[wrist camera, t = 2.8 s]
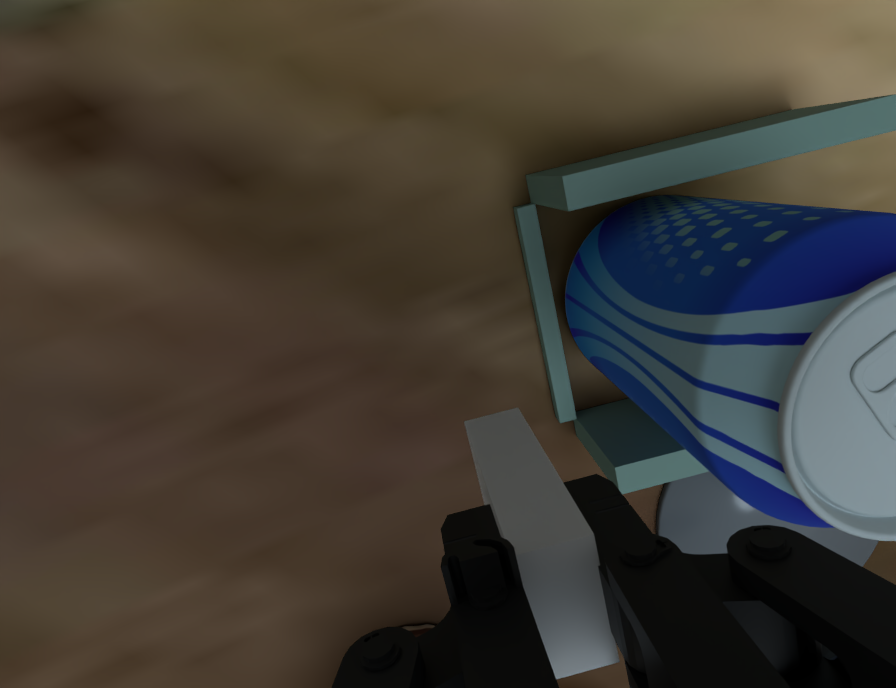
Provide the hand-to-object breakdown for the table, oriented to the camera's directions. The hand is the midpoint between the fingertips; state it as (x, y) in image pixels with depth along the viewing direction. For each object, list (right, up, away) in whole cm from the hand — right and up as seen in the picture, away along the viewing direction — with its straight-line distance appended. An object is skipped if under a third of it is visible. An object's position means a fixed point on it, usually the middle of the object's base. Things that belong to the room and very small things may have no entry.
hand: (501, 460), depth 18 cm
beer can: (+8, +6, +12) cm, 16 cm away
